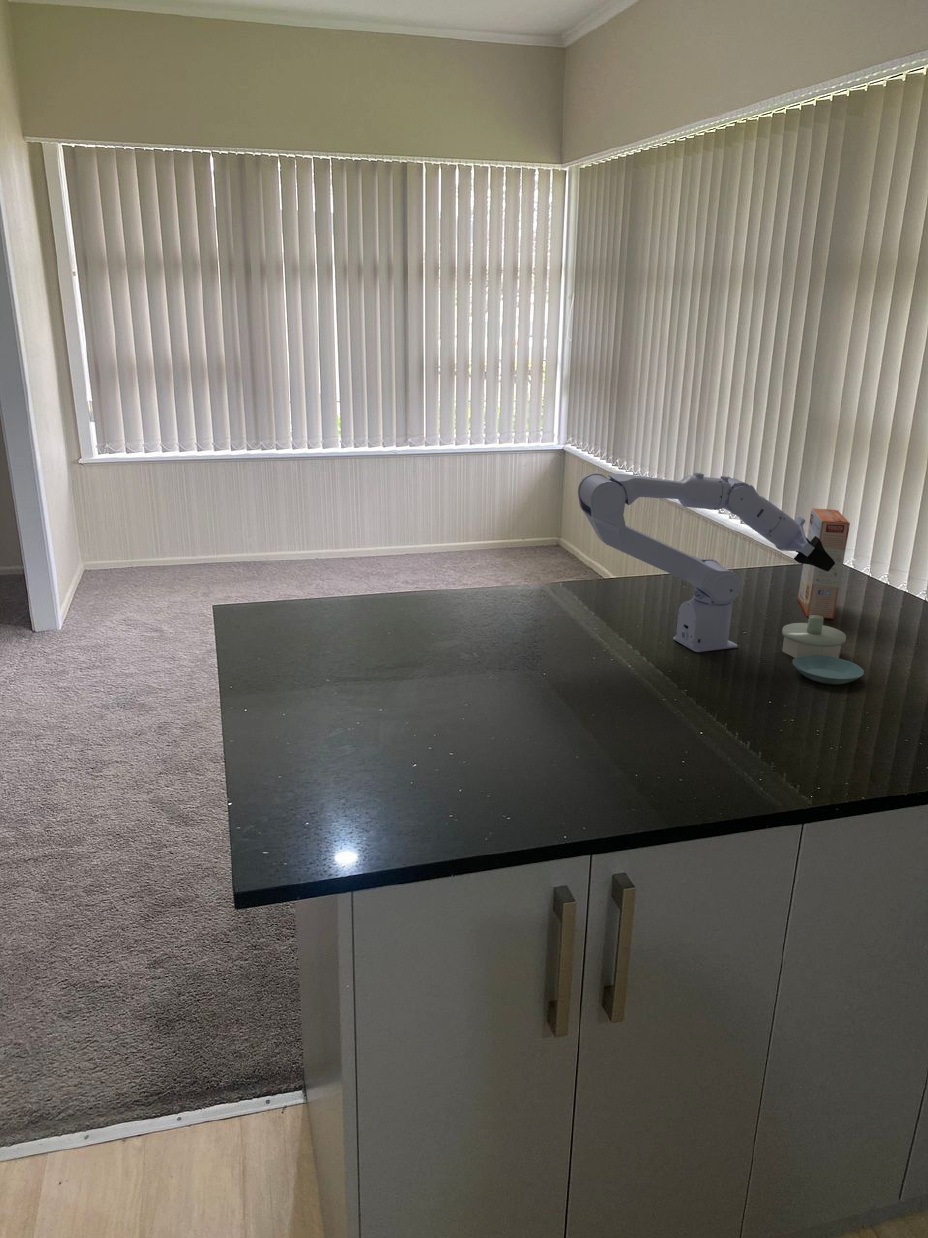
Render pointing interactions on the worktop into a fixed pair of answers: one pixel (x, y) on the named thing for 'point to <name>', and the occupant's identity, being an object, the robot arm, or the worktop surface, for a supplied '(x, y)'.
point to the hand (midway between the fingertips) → (821, 560)
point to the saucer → (827, 669)
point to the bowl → (809, 649)
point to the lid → (814, 633)
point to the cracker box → (815, 582)
